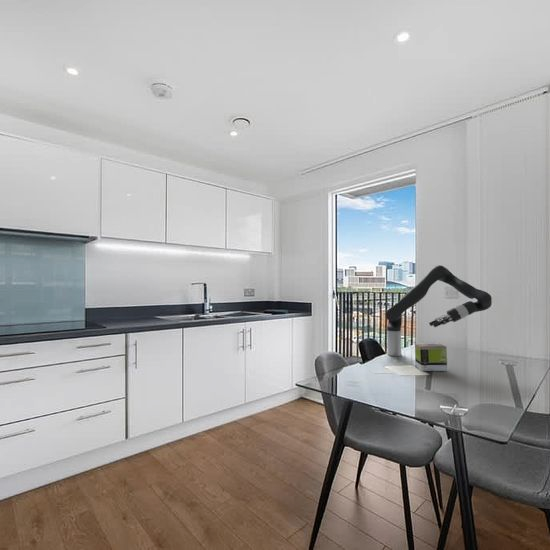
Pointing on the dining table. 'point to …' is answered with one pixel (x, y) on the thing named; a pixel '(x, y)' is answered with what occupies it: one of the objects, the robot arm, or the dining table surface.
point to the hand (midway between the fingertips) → (431, 325)
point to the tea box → (431, 356)
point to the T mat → (407, 370)
